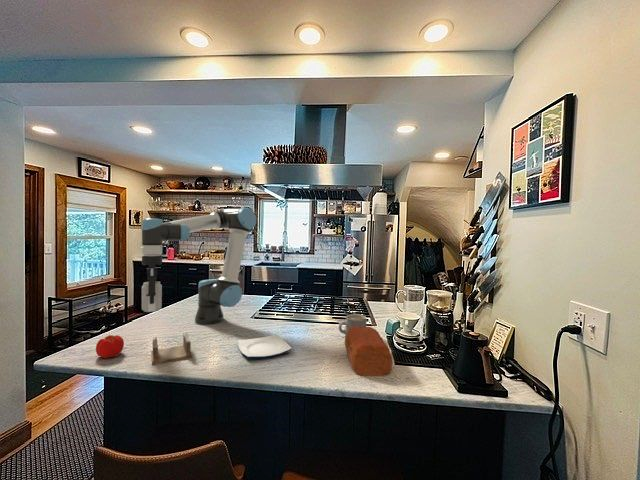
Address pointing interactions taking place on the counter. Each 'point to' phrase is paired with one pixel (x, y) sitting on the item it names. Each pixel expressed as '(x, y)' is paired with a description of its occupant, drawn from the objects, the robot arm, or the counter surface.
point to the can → (158, 296)
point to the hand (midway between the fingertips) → (152, 308)
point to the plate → (263, 347)
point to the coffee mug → (352, 322)
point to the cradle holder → (171, 351)
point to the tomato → (109, 346)
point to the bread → (367, 352)
